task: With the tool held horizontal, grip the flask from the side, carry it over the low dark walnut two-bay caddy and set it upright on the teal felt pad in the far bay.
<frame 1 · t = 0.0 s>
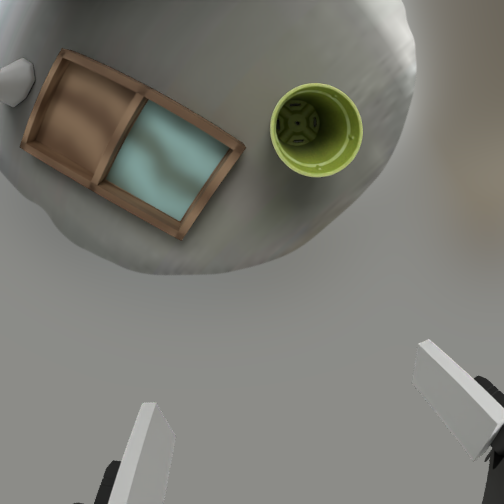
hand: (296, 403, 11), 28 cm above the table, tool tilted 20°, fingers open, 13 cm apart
plant pot: (295, 122, 31), on the table
walnut caddy: (122, 136, 29), on the table
flask: (19, 82, 21), on the table
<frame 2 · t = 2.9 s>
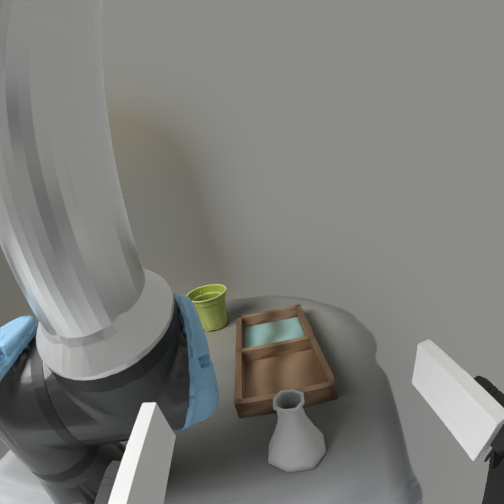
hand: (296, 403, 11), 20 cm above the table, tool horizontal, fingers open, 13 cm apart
plant pot: (215, 326, 63), on the table
walnut caddy: (277, 357, 46), on the table
flask: (297, 451, 26), on the table
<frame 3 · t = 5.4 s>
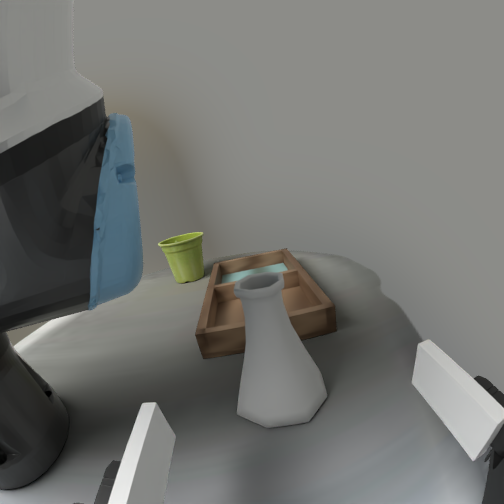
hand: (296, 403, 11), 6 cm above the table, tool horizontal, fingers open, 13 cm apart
plant pot: (191, 279, 56), on the table
walnut caddy: (259, 297, 40), on the table
flask: (282, 398, 19), on the table
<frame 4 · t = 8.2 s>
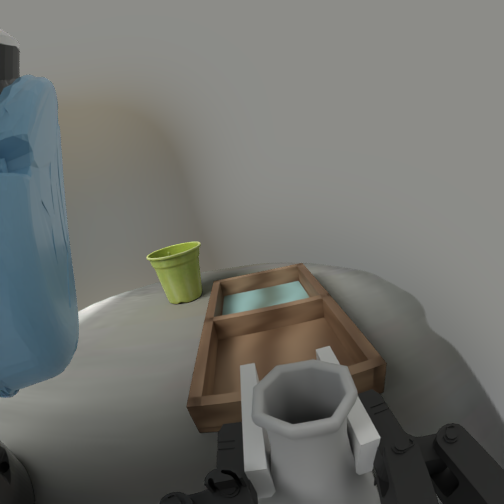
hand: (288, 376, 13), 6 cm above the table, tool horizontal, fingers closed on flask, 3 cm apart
plant pot: (186, 298, 46), on the table
walnut caddy: (272, 331, 30), on the table
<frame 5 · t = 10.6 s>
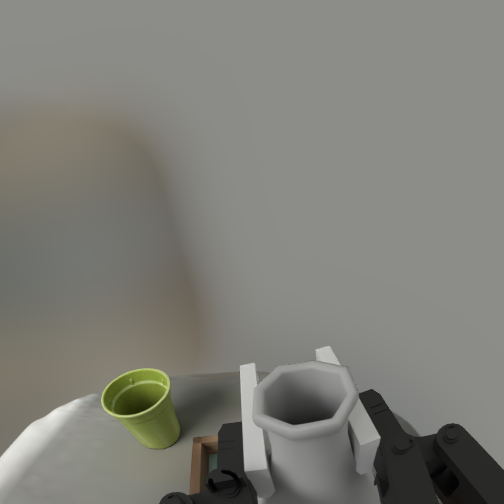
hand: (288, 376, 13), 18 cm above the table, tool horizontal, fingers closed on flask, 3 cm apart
plant pot: (161, 435, 29), on the table
when the fingers open (9 cm above the table, at t = 13.2 s): flask drops 2 cm, resting on walnut caddy.
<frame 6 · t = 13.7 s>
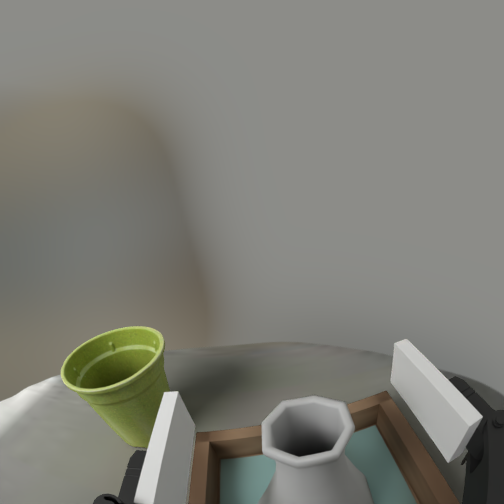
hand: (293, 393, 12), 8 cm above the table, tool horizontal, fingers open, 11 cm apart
plant pot: (150, 428, 20), on the table
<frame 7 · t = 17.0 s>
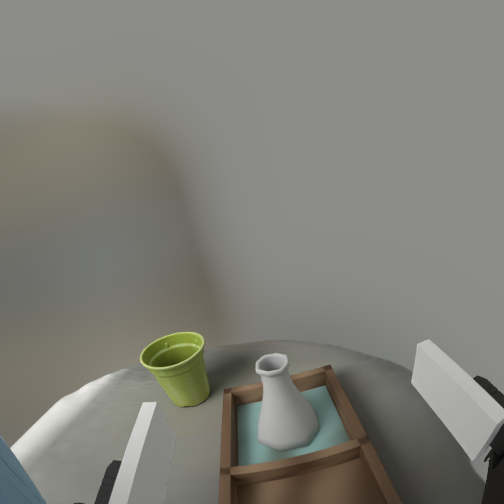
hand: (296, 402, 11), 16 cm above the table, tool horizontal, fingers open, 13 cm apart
plant pot: (192, 396, 36), on the table
walnut caddy: (298, 474, 19), on the table
flask: (288, 429, 26), resting on walnut caddy
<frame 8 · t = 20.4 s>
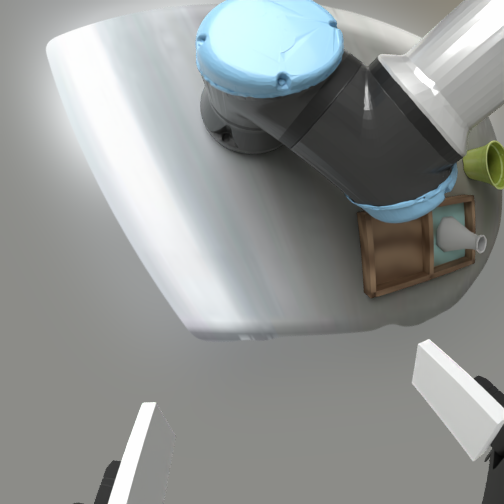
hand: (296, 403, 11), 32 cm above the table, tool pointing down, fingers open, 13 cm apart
plant pot: (469, 164, 41), on the table
walnut caddy: (422, 239, 43), on the table
flask: (446, 233, 43), resting on walnut caddy
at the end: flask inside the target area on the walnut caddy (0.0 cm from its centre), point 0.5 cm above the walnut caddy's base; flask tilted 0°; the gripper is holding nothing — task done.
